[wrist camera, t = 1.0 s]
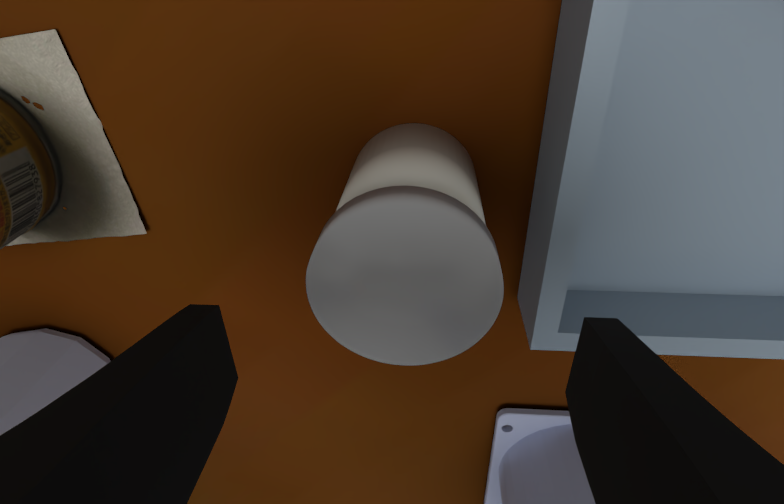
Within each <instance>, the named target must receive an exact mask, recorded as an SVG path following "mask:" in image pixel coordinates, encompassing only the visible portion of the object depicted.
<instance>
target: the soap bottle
mask: <svg viewBox="0 0 784 504" xmlns="http://www.w3.org/2000/svg"><path fill="white" fill-rule="evenodd" d="M109 362H111V360H110V359H109V358H108V357H107V356H106V355H104V354H103V353H102V352H100V351H99V350H97V349H96V348H95V347H93V346H92V345H91V344H89V343H88V342H87V341H85V340H84V339H82V338H81V337H78V336H74V335H70V334H66V333H62V332H58V331H55V330H51V329H47V328H45V329H38V330H31V331H25V332H18V333H12V334H9V335H6V336H3V337H1V338H0V435H2V434H3V433H5V432H7V431H8V430H10V429H11V428H13V427H15V426H16V425H18V424H19V423H21V422H23V421H24V420H26V419H27V418H29V417H30V416H32V415H34V414H35V413H37V412H38V411H39V410H41V409H42V408H44V407H45V406H47V405H48V404H50V403H51V402H53V401H54V400H56V399H57V398H59V397H60V396H62V395H63V394H65V393H66V392H68V391H69V390H71V389H72V388H73V387H75V386H76V385H78V384H79V383H81V382H82V381H84V380H85V379H87V378H88V377H90V376H91V375H93V374H94V373H95V372H97V371H98V370H100V369H101V368H102V367H104V366H105V365H106V364H108V363H109Z"/></svg>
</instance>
